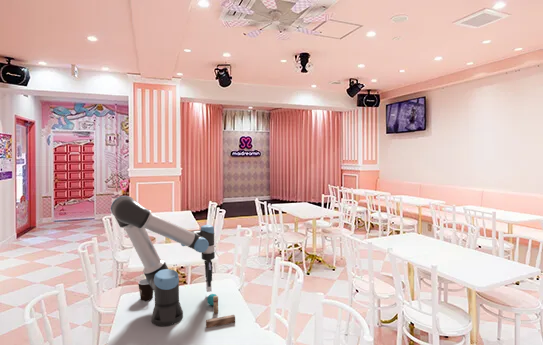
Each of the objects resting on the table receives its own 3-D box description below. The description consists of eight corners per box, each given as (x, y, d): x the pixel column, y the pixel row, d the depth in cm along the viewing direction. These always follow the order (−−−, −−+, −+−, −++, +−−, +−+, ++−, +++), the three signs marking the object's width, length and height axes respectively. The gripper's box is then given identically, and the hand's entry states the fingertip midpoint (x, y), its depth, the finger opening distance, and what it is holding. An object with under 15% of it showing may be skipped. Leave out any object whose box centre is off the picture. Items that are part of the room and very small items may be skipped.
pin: (214, 314, 165) (213, 298, 165) (213, 312, 167) (212, 296, 167) (218, 313, 166) (218, 297, 166) (217, 311, 168) (217, 295, 168)
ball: (208, 308, 171) (208, 297, 171) (206, 303, 177) (206, 292, 177) (219, 306, 173) (219, 295, 173) (217, 301, 179) (217, 291, 179)
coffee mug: (138, 296, 186) (138, 279, 185) (154, 294, 189) (154, 277, 188) (138, 305, 175) (137, 287, 174) (155, 302, 178) (154, 285, 177)
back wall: (206, 328, 152) (206, 322, 152) (205, 325, 154) (205, 319, 154) (235, 322, 157) (235, 316, 157) (234, 320, 159) (234, 314, 159)
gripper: (216, 254, 181) (217, 294, 183) (212, 247, 193) (213, 285, 195) (203, 256, 178) (204, 296, 180) (199, 249, 190) (200, 287, 192)
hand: (209, 291), depth 187 cm, fingers closed
